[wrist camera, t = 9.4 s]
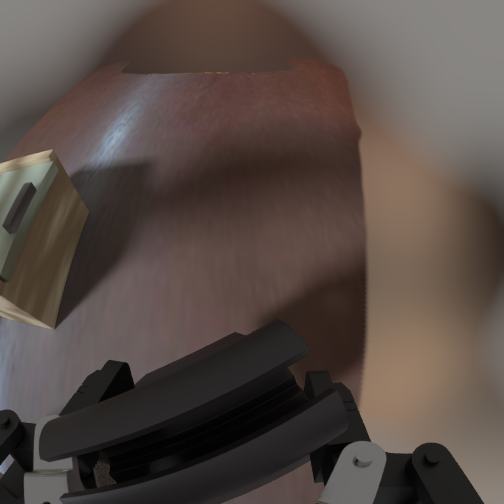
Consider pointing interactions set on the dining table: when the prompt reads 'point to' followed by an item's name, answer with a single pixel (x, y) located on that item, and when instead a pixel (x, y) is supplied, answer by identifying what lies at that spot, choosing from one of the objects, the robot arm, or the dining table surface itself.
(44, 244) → the bread box
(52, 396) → the dining table surface
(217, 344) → the phone stand
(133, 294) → the dining table surface
